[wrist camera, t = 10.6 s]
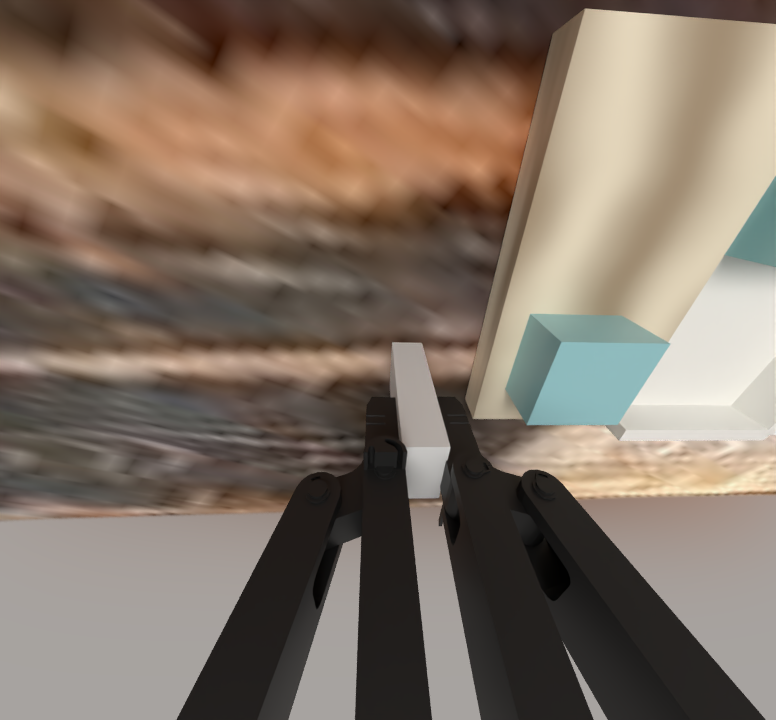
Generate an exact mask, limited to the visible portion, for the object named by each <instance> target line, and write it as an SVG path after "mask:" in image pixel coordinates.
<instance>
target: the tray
mask: <svg viewBox="0 0 776 720" xmlns="http://www.w3.org/2000/svg"><path fill="white" fill-rule="evenodd" d="M668 343H670V346H669V347H668V349H667V350H666V352H665V353H664V355H663V356H662V358H661V359H660V361H659V362H658V364H657V366H656V367H655V369H654V370H653V372H652V373H651V375H650V376H649V378H648V379H647V381H646V382H645V384H644V385H643V387H642V388H641V390H640V391H639V393H638V395H637V396H636V398H635V399H634V401H633V402H632V404H631V405H630V407H629V408H628V410H627V411H626V413H625V414H624V416H623V417H622V419H621V421H620V422H619V424H618V425H605V426H606V427H607V428H608V429H609V430H610V431H611V432H612V434H613V435H614V436H615V437H616V438H617V439H618V440H619V441H687V440H765V439H766V438H767V437H768V436H769V435H776V267H773V266H769V265H764V264H760V263H756V262H752V261H748V260H743V259H739V258H735V257H731V256H726V255H724V256H723V258H722V260H721V261H720V263H719V264H718V266H717V267H716V269H715V270H714V272H713V274H712V275H711V277H710V278H709V280H708V281H707V283H706V284H705V286H704V287H703V289H702V291H701V292H700V294H699V295H698V297H697V298H696V300H695V301H694V303H693V304H692V306H691V308H690V309H689V311H688V312H687V314H686V315H685V317H684V318H683V320H682V321H681V323H680V325H679V326H678V328H677V329H676V331H675V332H674V334H673V335H672V337H671V338H670V340H669V342H668Z"/></svg>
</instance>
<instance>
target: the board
mask: <svg viewBox="0 0 776 720" xmlns="http://www.w3.org/2000/svg"><path fill="white" fill-rule="evenodd" d="M775 176H776V24H766V23H754V22H742V21H730V20H718V19H706V18H693V17H681V16H669V15H657V14H645V13H633V12H620V11H608V10H596V9H584V10H583V11H581V12H580V13H579V14H578V15H576V16H575V17H574V18H572V19H571V20H570V21H569V22H567V23H566V24H565V25H563V26H562V27H561V28H559V29H558V30H557V31H556V32H554V33H553V35H552V39H551V43H550V48H549V52H548V56H547V60H546V64H545V68H544V73H543V77H542V81H541V85H540V89H539V93H538V97H537V102H536V106H535V110H534V114H533V118H532V122H531V127H530V131H529V135H528V139H527V143H526V147H525V152H524V156H523V160H522V164H521V168H520V172H519V176H518V181H517V185H516V189H515V193H514V197H513V201H512V206H511V210H510V214H509V218H508V222H507V226H506V231H505V235H504V239H503V243H502V247H501V251H500V256H499V260H498V264H497V268H496V272H495V276H494V280H493V285H492V289H491V293H490V297H489V301H488V305H487V310H486V314H485V318H484V322H483V326H482V330H481V335H480V339H479V343H478V347H477V351H476V355H475V360H474V364H473V368H472V372H471V376H470V380H469V384H468V389H467V393H466V397H465V400H466V403H467V405H468V408H469V410H470V413H471V415H472V418H473V419H523V418H522V416H521V415H520V413H519V411H518V410H517V408H516V406H515V405H514V403H513V401H512V400H511V398H510V396H509V395H508V393H507V391H506V390H505V388H506V385H507V382H508V379H509V376H510V373H511V370H512V367H513V364H514V361H515V358H516V355H517V352H518V349H519V346H520V343H521V340H522V337H523V334H524V331H525V328H526V325H527V322H528V319H529V316H530V314H571V315H618V316H624V317H625V318H627V319H629V320H631V321H632V322H634V323H636V324H637V325H639V326H641V327H643V328H644V329H646V330H648V331H650V332H651V333H653V334H655V335H656V336H658V337H660V338H662V339H663V340H665V341H667V342H669V340H670V338H671V337H672V335H673V334H674V332H675V331H676V329H677V328H678V326H679V325H680V323H681V321H682V320H683V318H684V317H685V315H686V314H687V312H688V311H689V309H690V308H691V306H692V304H693V303H694V301H695V300H696V298H697V297H698V295H699V294H700V292H701V291H702V289H703V287H704V286H705V284H706V283H707V281H708V280H709V278H710V277H711V275H712V274H713V272H714V270H715V269H716V267H717V266H718V264H719V263H720V261H721V260H722V258H723V256H724V255H725V253H726V252H727V250H728V249H729V247H730V246H731V244H732V243H733V241H734V239H735V238H736V236H737V235H738V233H739V232H740V230H741V229H742V227H743V226H744V224H745V222H746V221H747V219H748V218H749V216H750V215H751V213H752V212H753V210H754V209H755V207H756V205H757V204H758V202H759V201H760V199H761V198H762V196H763V195H764V193H765V192H766V190H767V188H768V187H769V185H770V184H771V182H772V181H773V179H774V178H775Z"/></svg>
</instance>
